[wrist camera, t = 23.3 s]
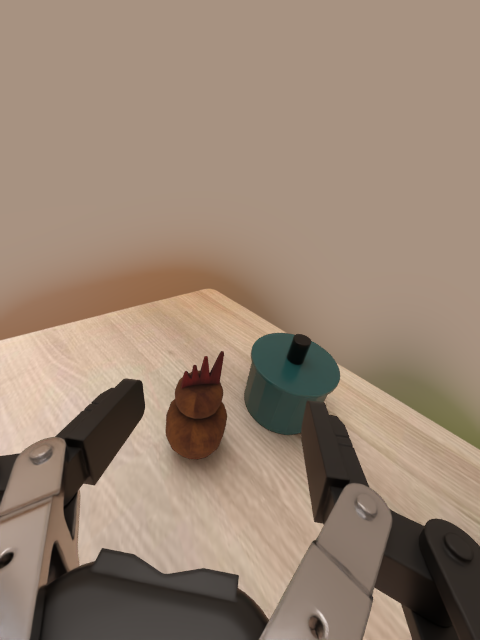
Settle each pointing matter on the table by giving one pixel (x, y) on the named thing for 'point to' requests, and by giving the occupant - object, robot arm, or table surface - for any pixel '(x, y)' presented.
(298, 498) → the table surface
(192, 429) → the wooden figurine
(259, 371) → the pot lid
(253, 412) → the pot
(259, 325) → the table surface
